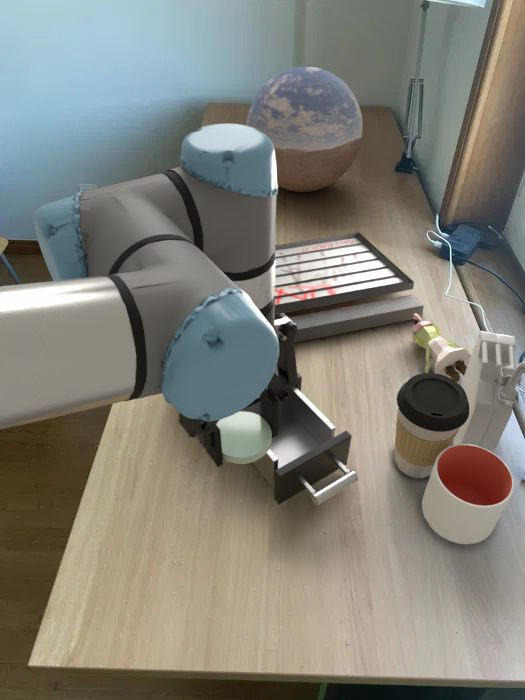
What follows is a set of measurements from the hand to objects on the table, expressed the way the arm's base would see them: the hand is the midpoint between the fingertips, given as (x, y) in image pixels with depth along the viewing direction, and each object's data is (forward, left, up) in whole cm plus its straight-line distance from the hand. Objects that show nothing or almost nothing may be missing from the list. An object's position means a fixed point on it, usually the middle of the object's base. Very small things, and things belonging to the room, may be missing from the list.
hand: (242, 443), depth 69 cm
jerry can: (+36, -9, -16) cm, 41 cm away
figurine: (+47, +7, -16) cm, 50 cm away
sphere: (+68, +77, -16) cm, 104 cm away
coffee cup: (+27, -7, -16) cm, 32 cm away
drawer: (+11, +3, -15) cm, 18 cm away
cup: (+25, -17, -16) cm, 34 cm away
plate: (0, 0, 0) cm, 0 cm away
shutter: (+43, +37, -16) cm, 59 cm away
